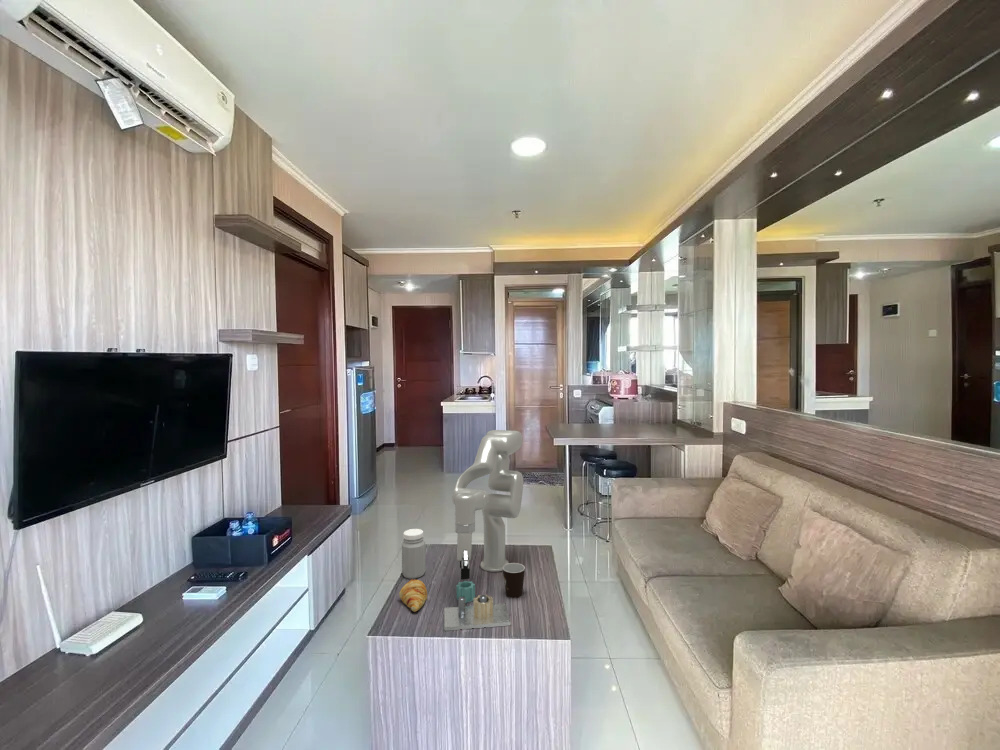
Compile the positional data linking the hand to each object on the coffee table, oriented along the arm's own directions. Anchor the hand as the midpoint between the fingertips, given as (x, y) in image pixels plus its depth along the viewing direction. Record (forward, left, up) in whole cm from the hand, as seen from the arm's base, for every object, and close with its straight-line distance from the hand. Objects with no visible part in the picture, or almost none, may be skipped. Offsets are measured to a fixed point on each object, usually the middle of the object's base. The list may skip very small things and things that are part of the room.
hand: (464, 573), depth 160 cm
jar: (-24, -21, -10) cm, 33 cm away
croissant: (-3, -19, -10) cm, 22 cm away
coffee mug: (-3, +19, -10) cm, 22 cm away
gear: (-1, 0, -10) cm, 10 cm away
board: (+13, +3, -10) cm, 17 cm away
